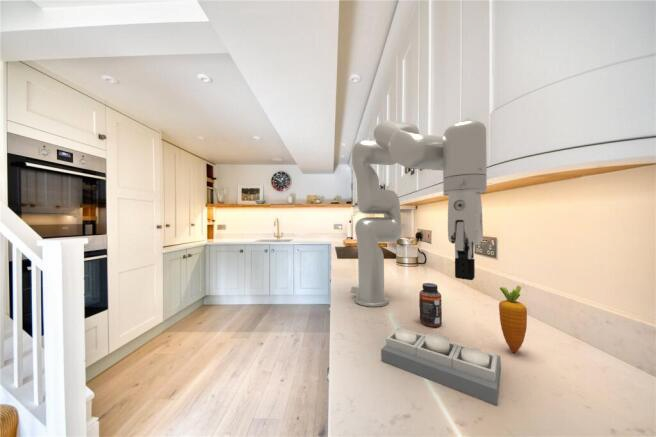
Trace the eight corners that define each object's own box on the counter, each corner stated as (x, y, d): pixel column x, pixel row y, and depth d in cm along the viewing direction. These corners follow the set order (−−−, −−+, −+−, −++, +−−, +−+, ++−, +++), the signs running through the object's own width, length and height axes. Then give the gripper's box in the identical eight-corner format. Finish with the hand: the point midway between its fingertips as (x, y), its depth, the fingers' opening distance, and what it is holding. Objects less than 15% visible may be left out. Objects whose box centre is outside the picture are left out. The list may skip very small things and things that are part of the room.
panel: (381, 360, 50) (381, 340, 50) (402, 338, 59) (402, 322, 59) (497, 405, 37) (496, 378, 37) (500, 368, 47) (500, 347, 47)
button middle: (422, 349, 47) (422, 339, 47) (429, 341, 51) (429, 331, 51) (446, 357, 45) (446, 346, 45) (451, 347, 48) (451, 337, 48)
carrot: (498, 352, 52) (496, 285, 53) (502, 344, 56) (500, 281, 56) (527, 361, 49) (524, 289, 49) (529, 352, 53) (527, 285, 53)
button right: (459, 365, 43) (459, 354, 43) (463, 355, 47) (463, 345, 47) (488, 375, 40) (487, 363, 40) (490, 363, 44) (490, 352, 44)
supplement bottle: (444, 328, 65) (443, 287, 65) (421, 327, 66) (421, 286, 66) (438, 320, 71) (438, 282, 71) (418, 318, 72) (417, 281, 72)
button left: (392, 343, 51) (392, 334, 51) (400, 336, 55) (399, 327, 55) (412, 350, 49) (412, 340, 49) (419, 342, 52) (419, 332, 52)
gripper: (481, 180, 39) (482, 290, 39) (490, 189, 50) (490, 274, 50) (433, 184, 44) (434, 283, 44) (451, 191, 55) (452, 269, 55)
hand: (464, 278), depth 47 cm, fingers closed
